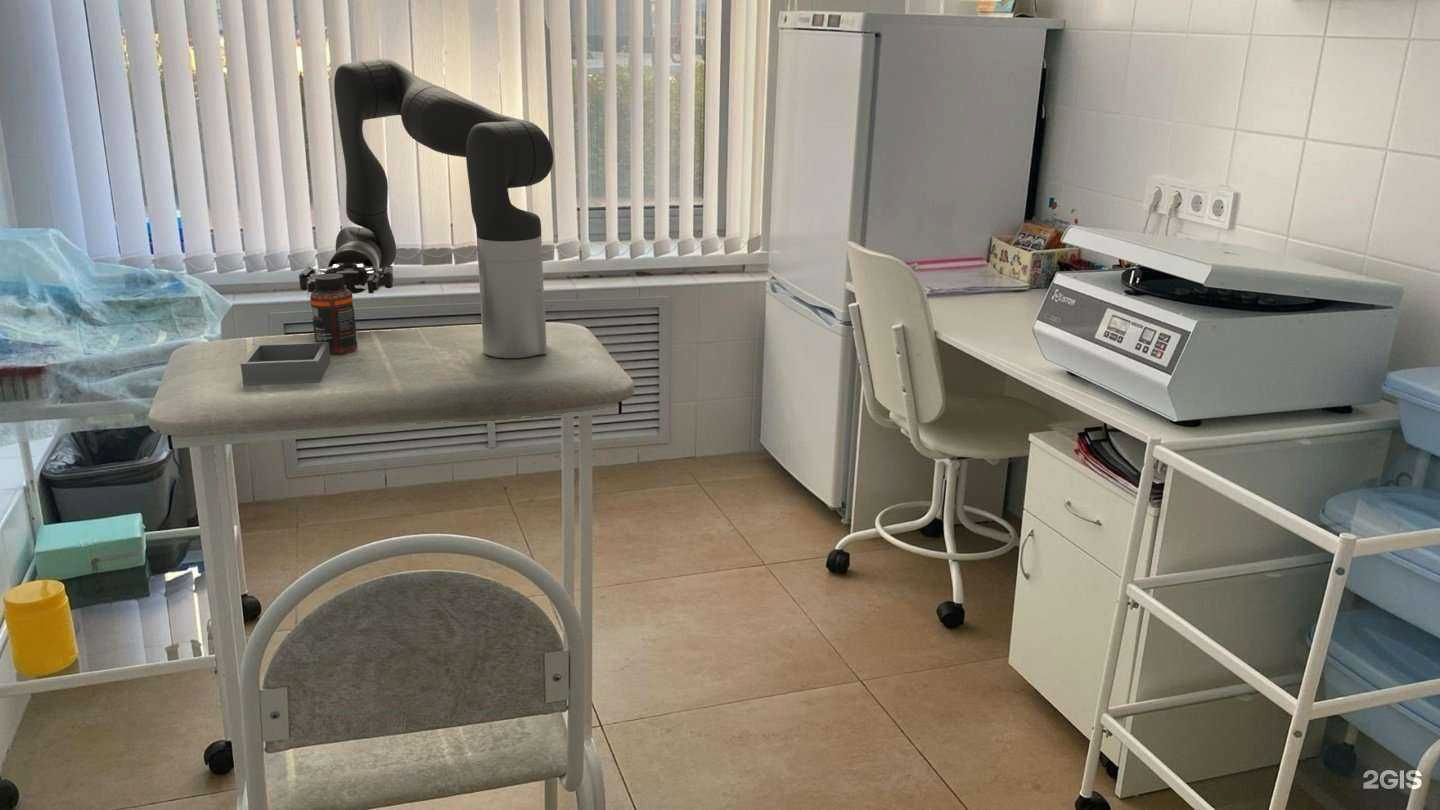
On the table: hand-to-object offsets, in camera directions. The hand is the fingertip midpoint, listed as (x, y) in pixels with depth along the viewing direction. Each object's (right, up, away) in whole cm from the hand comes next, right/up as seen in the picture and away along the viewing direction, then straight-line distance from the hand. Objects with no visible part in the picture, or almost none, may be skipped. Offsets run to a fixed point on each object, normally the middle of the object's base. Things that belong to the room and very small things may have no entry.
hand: (342, 287), depth 178 cm
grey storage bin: (-1, -14, -19) cm, 24 cm away
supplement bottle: (+2, -10, -8) cm, 13 cm away
